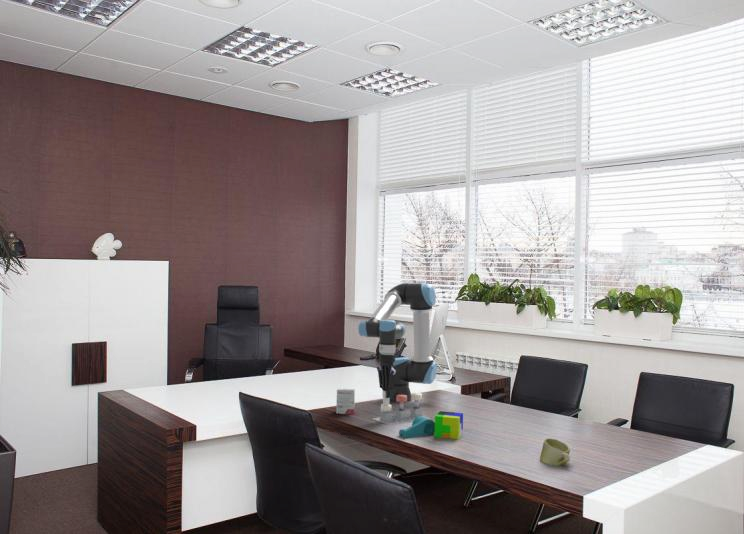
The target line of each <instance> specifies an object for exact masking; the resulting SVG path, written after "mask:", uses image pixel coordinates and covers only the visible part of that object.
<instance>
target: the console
mask: <svg viewBox="0 0 744 534" xmlns="http://www.w3.org/2000/svg"><path fill="white" fill-rule="evenodd" d="M418 416H423V417H425V418H428V419H430V420H431V418H430V417H427V416H424V415H423V407H420V406H418V408H415V406H412V407H410V412H408V409H405V408H403V410H400V408H397V409H395V414H393V412H392V411H390V412H388V413H385V412H383V411H381V410H380V411H379V417H375V418H374V417H373V418H372V420H373V421H375V422H376V421H377V422H379V423H381V424H385V425H387V426H392V425H398V424H399V425H400V424H406V423H411V422H412V423H413V421H414V419H415V418H416V417H418Z"/></svg>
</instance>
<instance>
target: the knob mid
mask: <svg viewBox="0 0 744 534" xmlns="http://www.w3.org/2000/svg"><path fill="white" fill-rule="evenodd" d="M396 401H397V402H400V403H399V409H400V410H403V409H404V404H405V403H408V402H407V395H397V396H396Z"/></svg>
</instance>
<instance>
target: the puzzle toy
mask: <svg viewBox="0 0 744 534" xmlns="http://www.w3.org/2000/svg"><path fill="white" fill-rule="evenodd" d="M434 423H435V433H434V437H435V438H441V439H442V438H445V439H455V440H459V439H460V438H461V436H463V433H464V413H463V412H453V411H444V410H443V411H442V410H440V411H438V413H437V414H436V415H435V416H434Z"/></svg>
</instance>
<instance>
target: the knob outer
mask: <svg viewBox="0 0 744 534" xmlns="http://www.w3.org/2000/svg"><path fill="white" fill-rule="evenodd" d="M392 408H393V407H392V404H391V403H389V405H383V403H381V404H380V412H381V411H383V412H385V413H388V412H392Z"/></svg>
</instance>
